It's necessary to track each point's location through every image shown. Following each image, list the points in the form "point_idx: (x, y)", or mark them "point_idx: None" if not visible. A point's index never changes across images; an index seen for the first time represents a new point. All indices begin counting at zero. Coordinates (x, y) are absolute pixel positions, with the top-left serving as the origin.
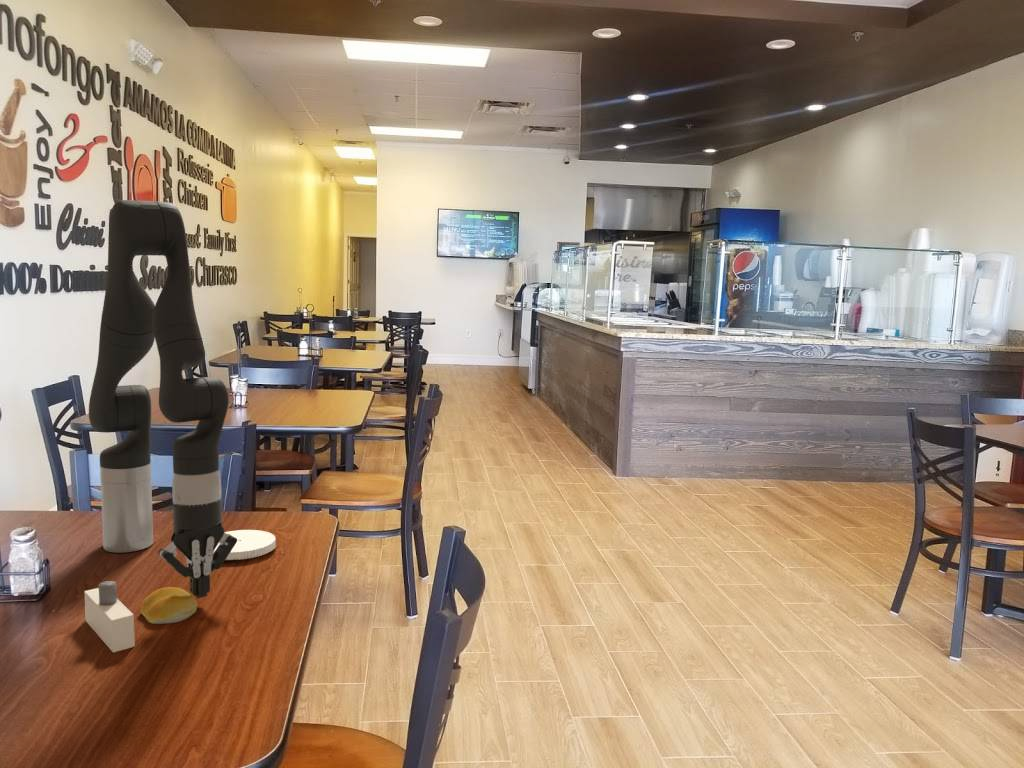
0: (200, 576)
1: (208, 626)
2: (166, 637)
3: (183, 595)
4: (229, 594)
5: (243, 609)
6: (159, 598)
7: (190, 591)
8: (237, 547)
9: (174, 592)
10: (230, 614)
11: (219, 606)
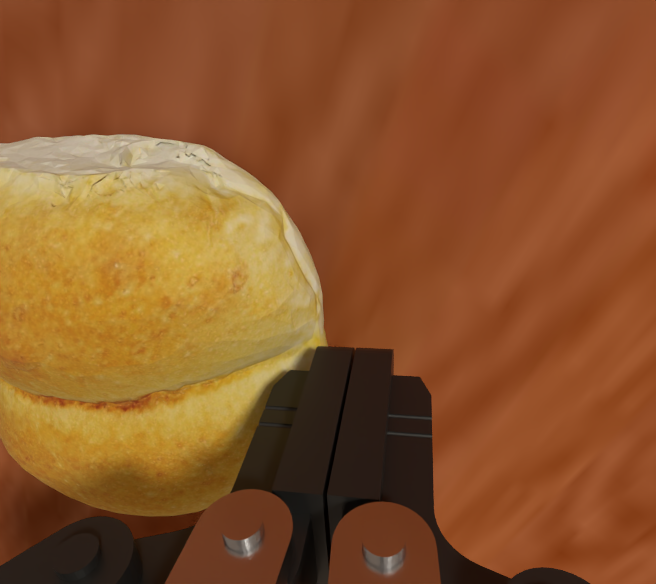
0: (323, 575)
1: None
2: None
3: (194, 456)
4: (647, 291)
5: (544, 531)
6: (24, 388)
7: (277, 383)
8: None
9: (133, 388)
10: (450, 533)
11: (459, 421)
